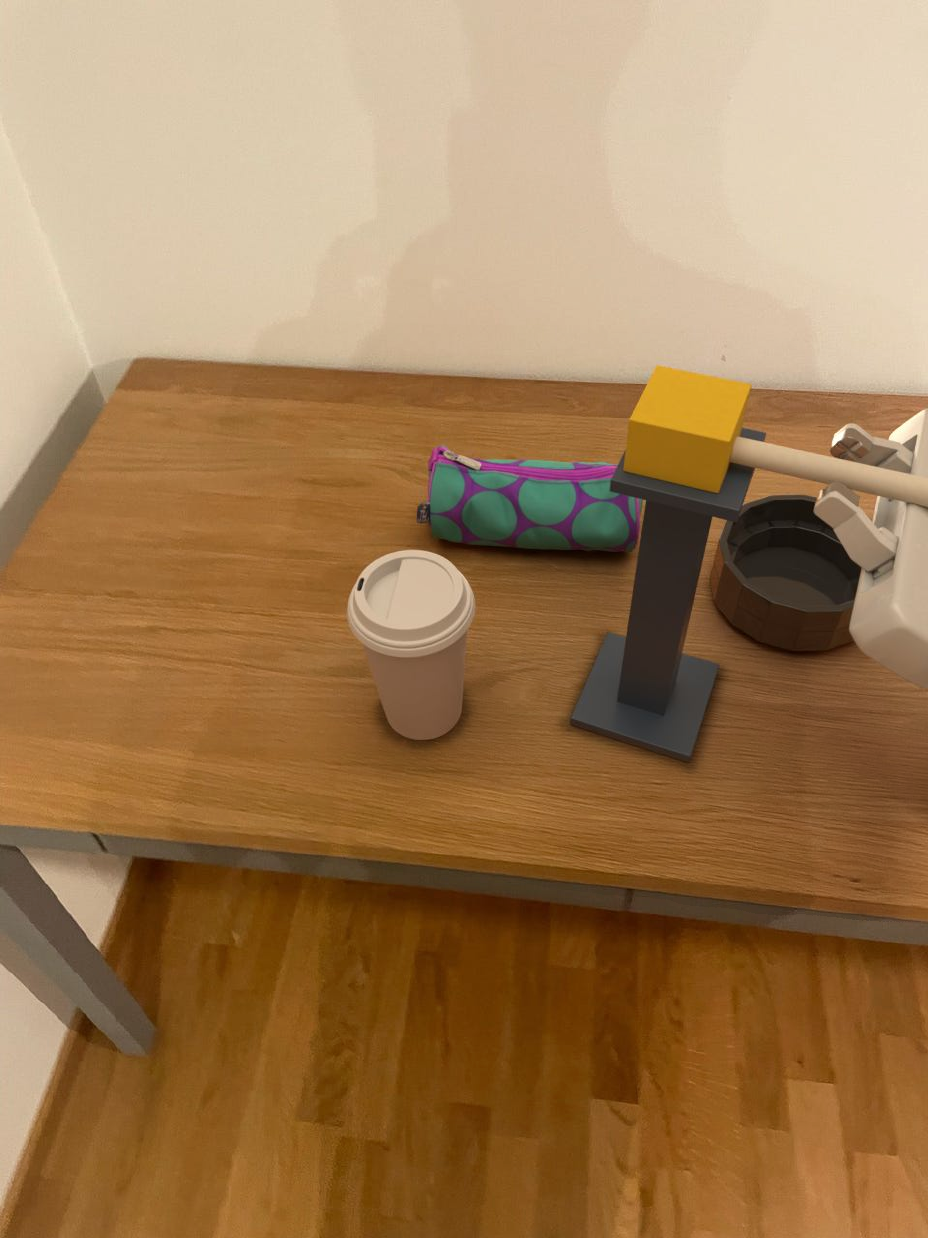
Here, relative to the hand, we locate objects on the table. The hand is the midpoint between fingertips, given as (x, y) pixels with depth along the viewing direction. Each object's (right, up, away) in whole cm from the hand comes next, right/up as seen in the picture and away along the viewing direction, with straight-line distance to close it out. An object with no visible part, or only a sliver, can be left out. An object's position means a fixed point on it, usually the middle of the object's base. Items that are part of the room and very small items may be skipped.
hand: (831, 464), depth 55 cm
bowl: (+8, -7, +30) cm, 32 cm away
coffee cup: (-25, -17, +24) cm, 38 cm away
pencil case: (-15, -1, +37) cm, 40 cm away
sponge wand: (-2, -1, +2) cm, 3 cm away
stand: (-6, -16, +23) cm, 29 cm away
